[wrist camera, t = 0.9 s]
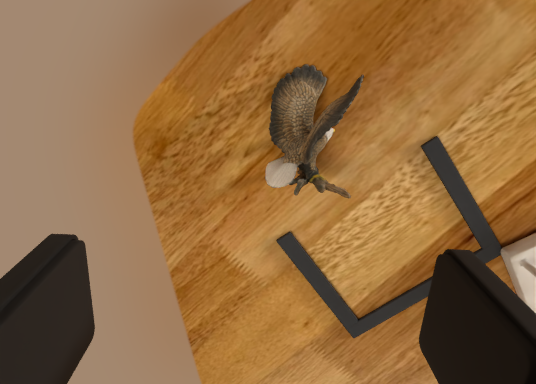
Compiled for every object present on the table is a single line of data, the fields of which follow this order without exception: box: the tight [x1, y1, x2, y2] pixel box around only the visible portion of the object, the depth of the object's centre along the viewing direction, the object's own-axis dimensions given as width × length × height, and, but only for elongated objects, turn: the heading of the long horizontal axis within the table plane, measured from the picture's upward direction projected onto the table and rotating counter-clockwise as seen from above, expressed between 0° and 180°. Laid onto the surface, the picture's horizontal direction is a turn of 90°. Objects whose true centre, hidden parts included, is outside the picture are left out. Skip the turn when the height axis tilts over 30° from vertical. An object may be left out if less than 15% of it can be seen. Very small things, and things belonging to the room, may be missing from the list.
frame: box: [277, 136, 502, 338], centre depth 37 cm, size 14×16×1 cm
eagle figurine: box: [265, 64, 364, 198], centre depth 30 cm, size 8×7×9 cm
